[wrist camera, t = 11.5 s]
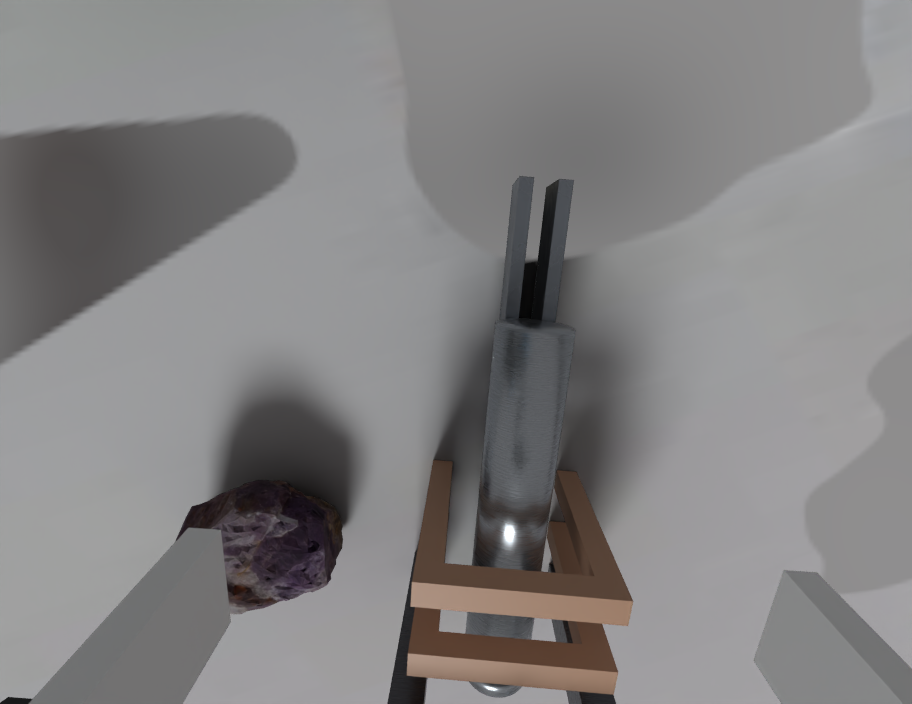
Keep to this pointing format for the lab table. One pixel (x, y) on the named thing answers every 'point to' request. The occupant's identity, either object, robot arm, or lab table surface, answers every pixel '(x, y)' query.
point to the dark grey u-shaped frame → (411, 690)
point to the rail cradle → (548, 249)
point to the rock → (271, 541)
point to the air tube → (519, 460)
